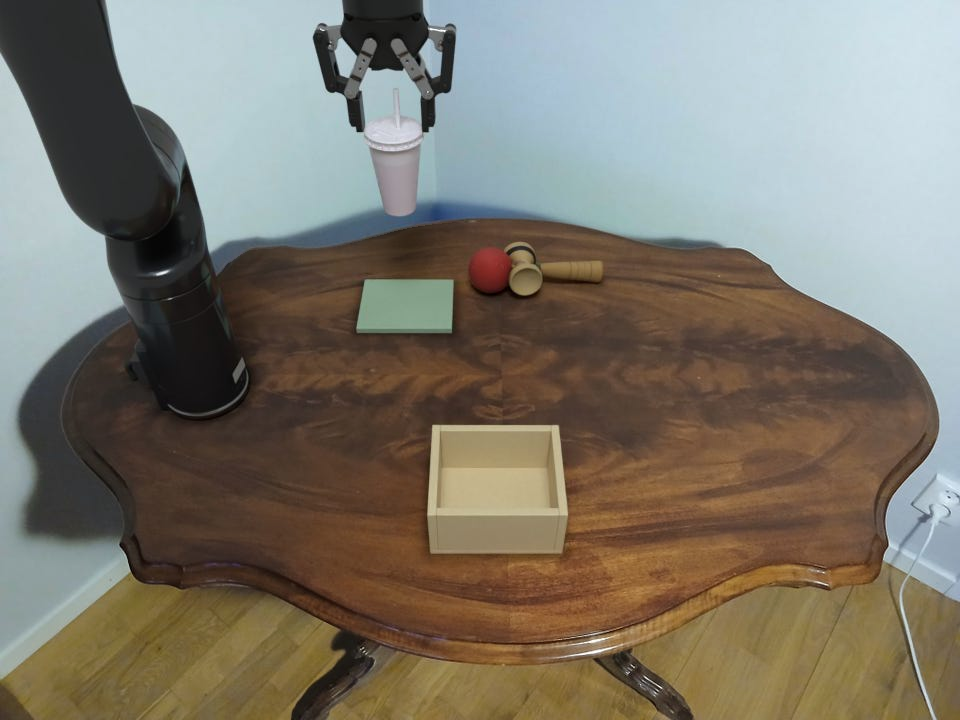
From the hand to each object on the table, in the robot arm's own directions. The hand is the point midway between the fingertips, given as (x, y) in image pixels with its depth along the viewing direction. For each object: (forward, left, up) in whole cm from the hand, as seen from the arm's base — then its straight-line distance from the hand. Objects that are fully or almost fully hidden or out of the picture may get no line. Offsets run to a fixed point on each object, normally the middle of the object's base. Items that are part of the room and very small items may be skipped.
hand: (393, 128), depth 77 cm
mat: (0, +1, -26) cm, 26 cm away
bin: (+11, -30, -26) cm, 41 cm away
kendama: (+17, +6, -26) cm, 31 cm away
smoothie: (0, 0, -10) cm, 10 cm away
